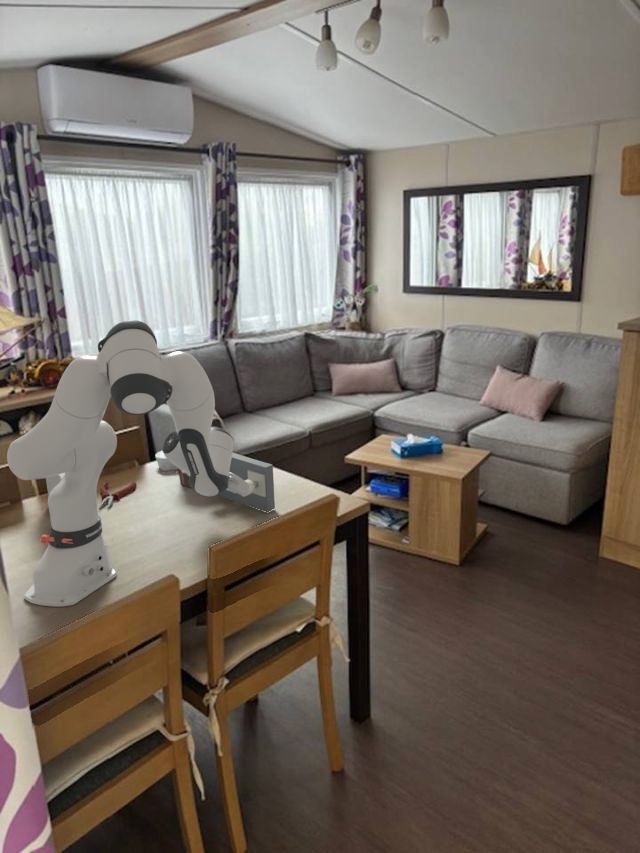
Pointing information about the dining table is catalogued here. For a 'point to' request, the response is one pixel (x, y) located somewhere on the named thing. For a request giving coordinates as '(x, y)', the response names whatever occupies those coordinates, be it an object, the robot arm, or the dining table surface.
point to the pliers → (114, 494)
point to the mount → (253, 472)
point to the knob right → (250, 487)
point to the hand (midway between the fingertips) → (233, 490)
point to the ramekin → (164, 462)
